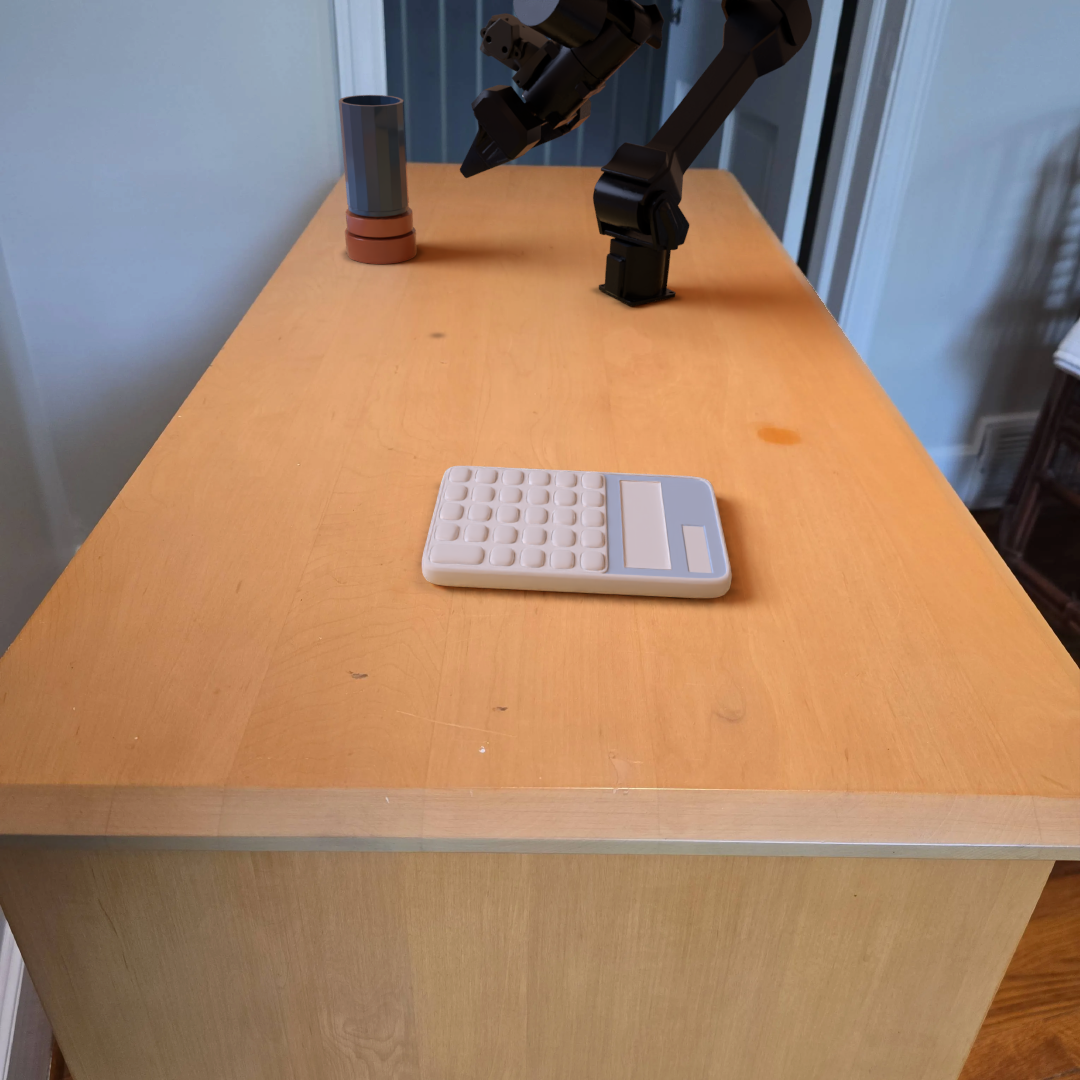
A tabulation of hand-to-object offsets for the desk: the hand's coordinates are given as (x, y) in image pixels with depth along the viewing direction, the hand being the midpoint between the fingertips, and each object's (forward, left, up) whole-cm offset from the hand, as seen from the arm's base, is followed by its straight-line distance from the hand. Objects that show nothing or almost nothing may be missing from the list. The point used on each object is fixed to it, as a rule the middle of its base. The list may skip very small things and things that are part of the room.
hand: (482, 164), depth 98 cm
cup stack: (+4, -18, -14) cm, 23 cm away
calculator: (+19, +46, -14) cm, 52 cm away
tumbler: (+4, -18, -8) cm, 20 cm away
